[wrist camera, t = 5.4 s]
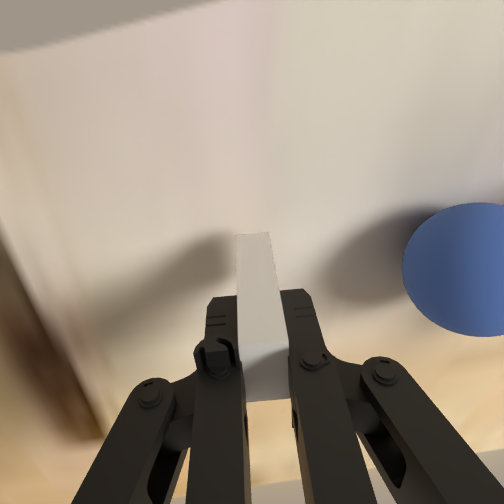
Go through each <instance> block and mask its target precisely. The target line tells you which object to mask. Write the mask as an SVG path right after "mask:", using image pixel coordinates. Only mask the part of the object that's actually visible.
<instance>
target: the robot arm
mask: <svg viewBox="0 0 504 504" xmlns="http://www.w3.org/2000/svg"><path fill="white" fill-rule="evenodd" d="M236 272H237V295H235V296H224V297H213V298H212V300H211V302H210V303H209V305H208V306H207V314H206V327H205V337H204V339H203V340H202V341H200V343H199V344H198V345H197V346H196V347H195V350H194V353H193V354H194V359H195V363H196V367H197V370H196V371H195V372H193V373H192V374H191V375H189V376H188V377H185V378H183V379H181V380H178V381H176V382H173V383H170V382H169V381H168V380H166V379H162V378H151V379H148V380H145V381H143V382H141V383H140V384H139V385H137V386H136V387H135V388H134V389H133V391H132V392H131V393H130V395H129V397H128V399H127V400H126V402H125V404H124V406H123V408H122V410H121V412H120V413H119V415H118V417H117V419H116V421H115V423H114V425H113V426H112V428H111V430H110V432H109V434H108V436H107V438H106V439H105V441H104V443H103V445H102V447H101V449H100V451H99V453H98V454H97V456H96V458H95V460H94V462H93V464H92V466H91V467H90V469H89V471H88V473H87V475H86V477H85V479H84V480H83V482H82V484H81V486H80V488H79V490H78V492H77V493H76V495H75V497H74V499H73V501H72V503H71V504H170V502H171V499H172V496H173V493H174V490H175V487H176V484H177V481H178V478H179V475H180V472H181V469H182V466H183V463H184V460H185V457H186V454H187V451H188V448H189V447H191V449H190V460H189V471H188V482H187V492H186V504H252V503H251V481H250V459H249V437H248V417H247V410H246V402H255V401H266V400H277V399H288V398H291V404H292V428H294V432H295V438H296V445H297V451H298V458H299V464H300V471H301V477H302V484H303V490H304V496H305V503H306V504H377V501H376V497H375V494H374V491H373V487H372V484H371V481H370V478H369V474H368V471H367V468H366V464H365V461H364V458H363V455H362V451H361V448H360V445H359V441H358V438H357V435H358V437H359V438H360V440H361V442H362V444H363V445H364V447H365V449H366V451H367V452H368V454H369V456H370V458H371V459H372V461H373V463H374V465H375V466H376V468H377V470H378V472H379V473H380V475H381V477H382V479H383V480H384V482H385V484H386V486H387V487H388V489H389V491H390V493H391V494H392V496H393V498H394V500H395V501H396V503H397V504H504V488H503V487H502V485H501V484H500V483H499V482H498V480H497V479H496V478H495V477H494V476H493V474H492V473H491V472H490V471H489V470H488V468H487V467H486V466H485V465H484V464H483V462H482V461H481V460H480V459H479V457H478V456H477V455H476V454H475V453H474V451H473V450H472V449H471V448H470V447H469V445H468V444H467V443H466V442H465V441H464V439H463V438H462V437H461V436H460V434H459V433H458V432H457V431H456V430H455V428H454V427H453V426H452V425H451V424H450V422H449V421H448V420H447V419H446V418H445V416H444V415H443V414H442V413H441V412H440V410H439V409H438V408H437V407H436V405H435V404H434V403H433V402H432V401H431V399H430V398H429V397H428V396H427V395H426V393H425V392H424V391H423V390H422V389H421V387H420V386H419V385H418V384H417V382H416V381H415V380H414V379H413V378H412V376H411V375H410V374H409V373H408V372H407V370H406V369H405V368H404V367H403V366H402V365H401V364H399V363H398V362H397V361H395V360H392V359H390V358H387V357H381V356H379V357H372V358H370V359H368V360H366V361H365V362H364V364H363V365H359V364H353V363H348V362H345V361H341V360H339V359H337V358H336V357H334V356H333V355H332V354H331V353H330V352H329V351H328V350H327V348H326V346H325V343H324V340H323V336H322V333H321V329H320V326H319V323H318V319H317V316H316V313H315V309H314V306H313V302H312V299H311V296H310V295H309V294H308V293H307V292H306V291H305V290H304V289H292V290H281V291H279V286H278V280H277V275H276V269H275V264H274V258H273V253H272V247H271V242H270V236H269V232H267V233H256V234H245V235H236ZM356 433H357V435H356Z"/></svg>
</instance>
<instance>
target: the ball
mask: <svg viewBox="0 0 504 504" xmlns="http://www.w3.org/2000/svg"><path fill="white" fill-rule="evenodd" d="M402 275H403V281H404V285H405V288H406V290H407V293H408V295H409V297H410V298H411V300H412V302H413V303H414V304H415V306H416V307H417V308H418V309H419V310H420V311H421V313H422V314H423V315H425V316H426V317H427V318H428V319H430V320H431V321H432V322H434V323H436V324H437V325H439V326H441V327H443V328H445V329H447V330H449V331H452V332H455V333H458V334H463V335H467V336H475V337H492V336H500V335H504V206H503V205H497V204H492V203H467V204H461V205H457V206H453V207H450V208H447V209H445V210H442V211H440V212H438V213H436V214H435V215H433V216H432V217H430V218H429V219H427V220H426V221H425V222H424V223H423V224H421V225H420V226H419V227H418V229H417V230H416V231H415V232H414V233H413V235H412V236H411V238H410V240H409V241H408V243H407V246H406V248H405V251H404V255H403V260H402Z"/></svg>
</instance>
